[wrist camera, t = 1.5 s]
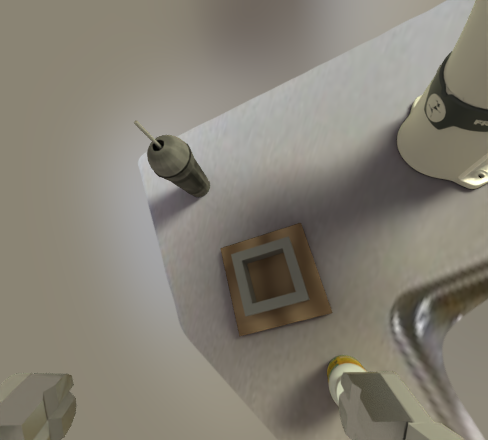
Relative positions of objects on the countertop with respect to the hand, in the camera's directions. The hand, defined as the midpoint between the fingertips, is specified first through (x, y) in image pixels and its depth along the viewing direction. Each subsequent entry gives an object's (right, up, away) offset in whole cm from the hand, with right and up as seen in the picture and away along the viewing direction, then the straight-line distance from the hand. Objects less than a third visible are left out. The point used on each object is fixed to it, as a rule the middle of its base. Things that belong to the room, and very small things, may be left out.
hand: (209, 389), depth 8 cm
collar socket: (+6, -5, +36) cm, 37 cm away
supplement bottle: (+16, -17, +30) cm, 38 cm away
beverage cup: (-8, +12, +46) cm, 48 cm away
